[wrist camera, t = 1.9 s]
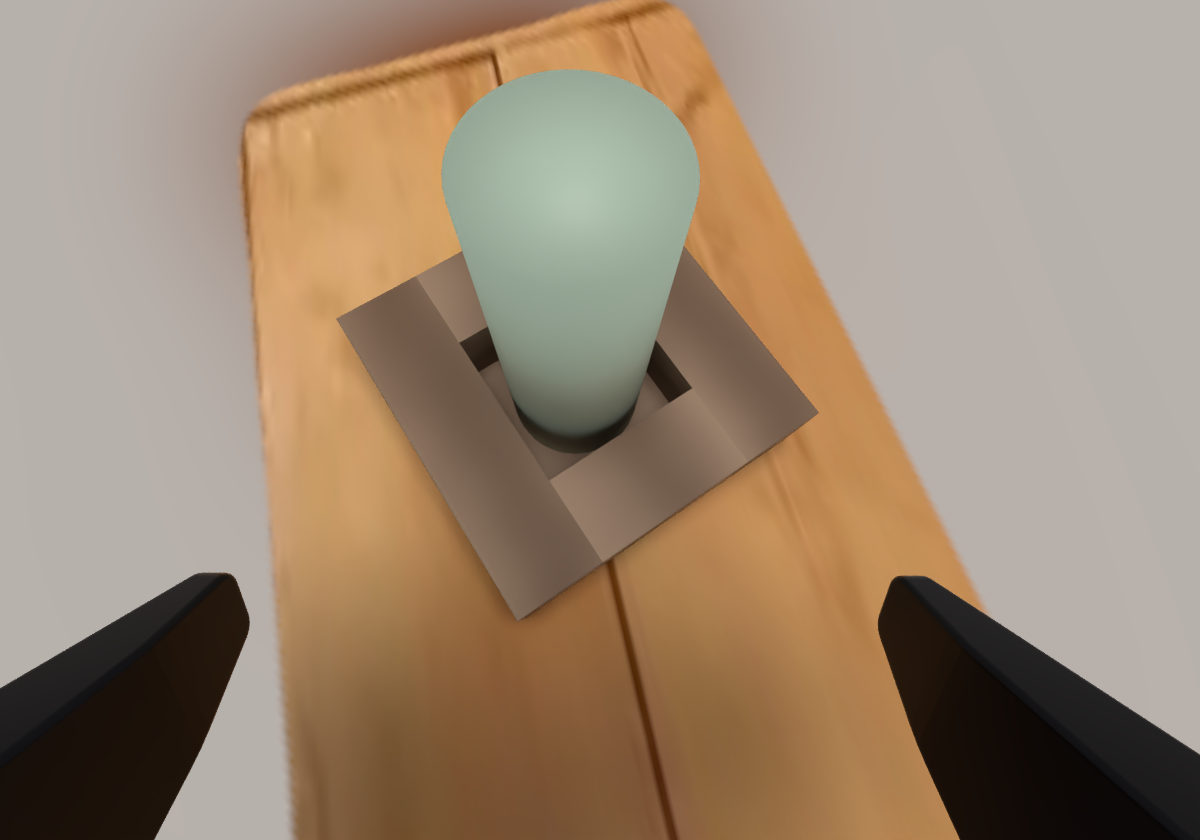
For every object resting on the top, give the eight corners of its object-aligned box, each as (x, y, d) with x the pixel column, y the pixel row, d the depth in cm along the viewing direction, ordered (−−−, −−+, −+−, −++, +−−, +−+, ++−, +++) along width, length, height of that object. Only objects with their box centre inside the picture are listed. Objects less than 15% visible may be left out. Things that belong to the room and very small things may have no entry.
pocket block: (527, 617, 21) (517, 621, 17) (371, 358, 23) (336, 318, 20) (784, 439, 23) (819, 412, 20) (614, 222, 26) (619, 166, 22)
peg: (557, 477, 22) (530, 331, 10) (491, 378, 23) (394, 136, 11) (660, 411, 23) (751, 203, 11) (592, 318, 24) (605, 35, 12)
